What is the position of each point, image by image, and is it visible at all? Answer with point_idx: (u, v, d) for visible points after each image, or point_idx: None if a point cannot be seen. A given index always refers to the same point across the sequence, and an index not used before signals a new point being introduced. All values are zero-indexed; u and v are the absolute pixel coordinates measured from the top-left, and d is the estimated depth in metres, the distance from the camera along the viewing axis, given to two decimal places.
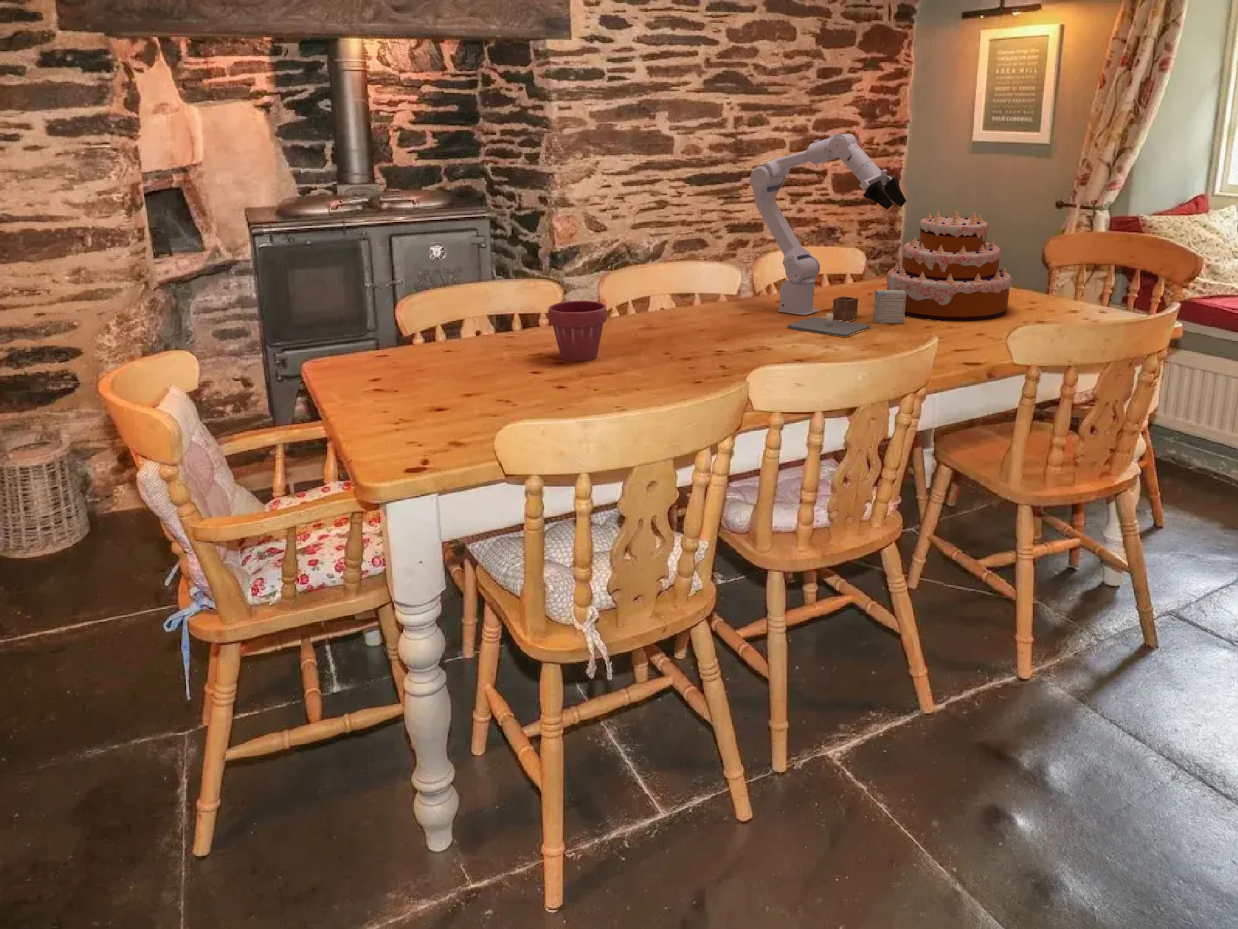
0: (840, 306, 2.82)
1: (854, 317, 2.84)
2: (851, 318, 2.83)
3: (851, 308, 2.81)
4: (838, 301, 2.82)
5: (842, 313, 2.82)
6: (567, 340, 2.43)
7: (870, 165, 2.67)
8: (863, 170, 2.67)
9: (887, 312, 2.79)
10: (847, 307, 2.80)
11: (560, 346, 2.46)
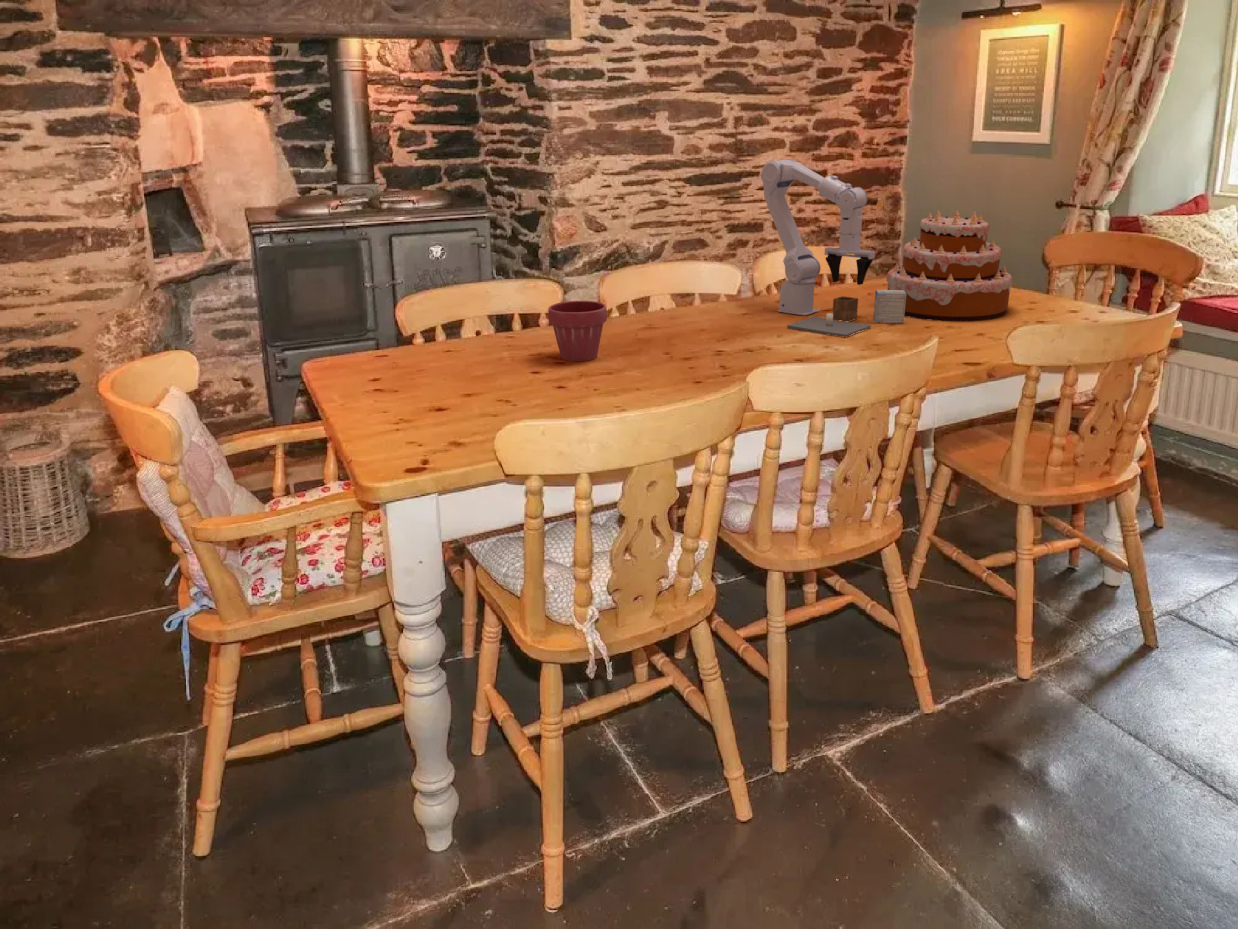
0: (840, 306, 2.82)
1: (854, 317, 2.84)
2: (851, 318, 2.83)
3: (851, 308, 2.81)
4: (838, 301, 2.82)
5: (842, 313, 2.82)
6: (567, 340, 2.43)
7: (841, 237, 2.76)
8: None
9: (887, 312, 2.79)
10: (847, 307, 2.80)
11: (560, 346, 2.46)
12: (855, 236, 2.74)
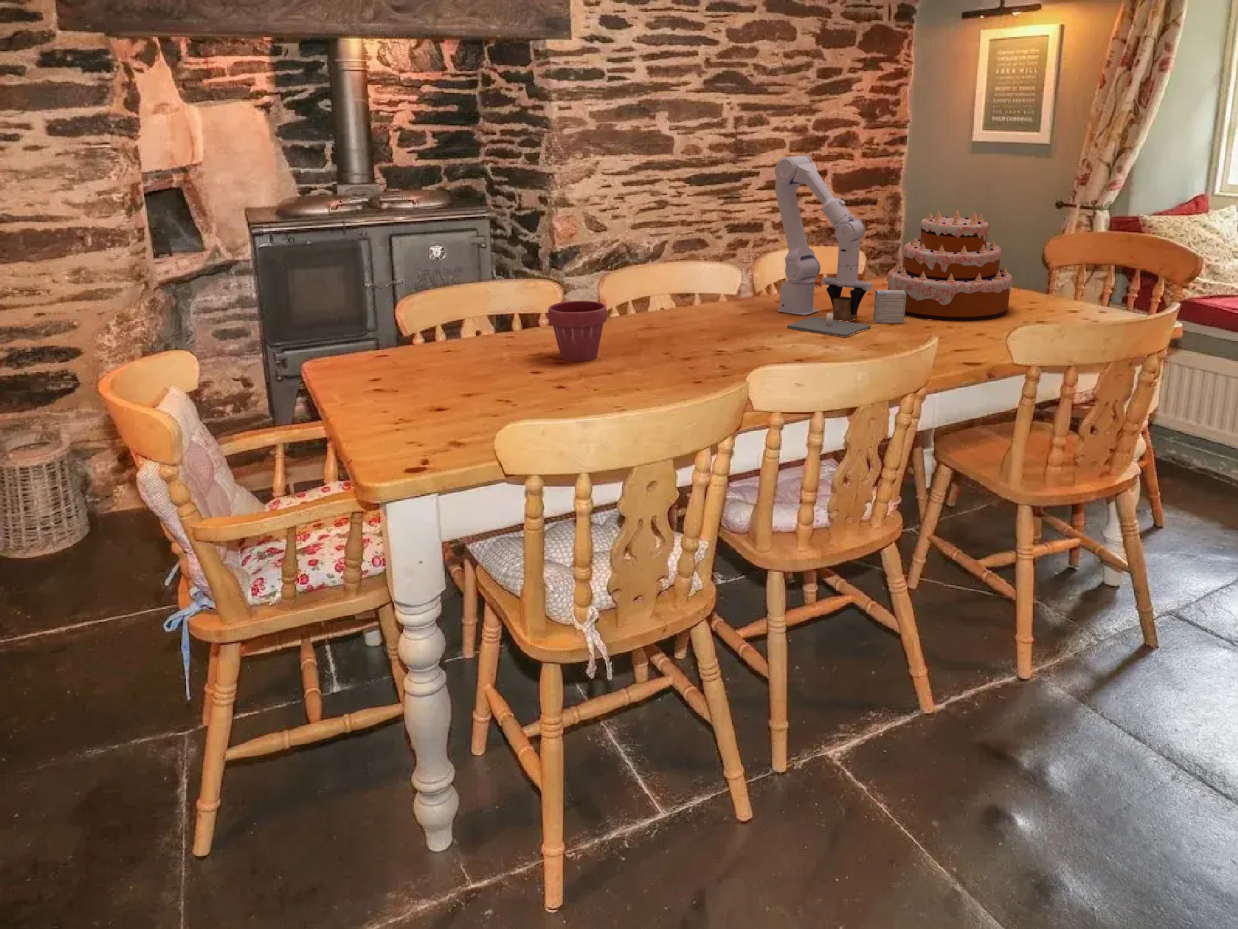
0: (840, 306, 2.82)
1: (854, 317, 2.84)
2: (851, 318, 2.83)
3: None
4: (838, 301, 2.82)
5: (842, 313, 2.82)
6: (567, 340, 2.43)
7: (838, 269, 2.79)
8: None
9: (887, 312, 2.79)
10: (847, 307, 2.80)
11: (560, 346, 2.46)
12: (852, 268, 2.77)
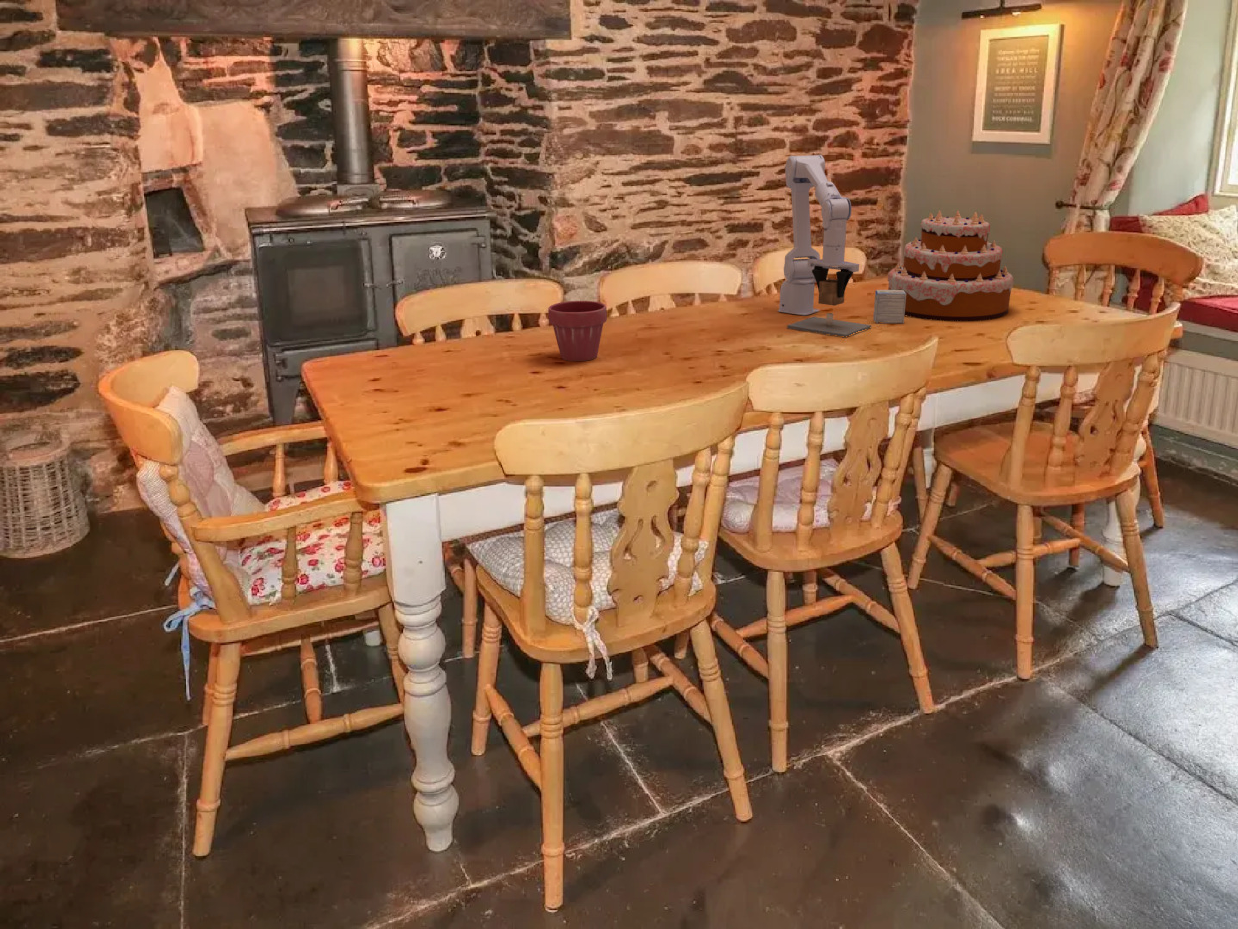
0: (826, 289, 2.70)
1: (841, 300, 2.72)
2: (838, 301, 2.71)
3: None
4: (824, 283, 2.70)
5: (829, 296, 2.70)
6: (567, 340, 2.43)
7: (824, 249, 2.67)
8: None
9: (887, 312, 2.79)
10: (834, 290, 2.69)
11: (560, 346, 2.46)
12: (839, 248, 2.65)
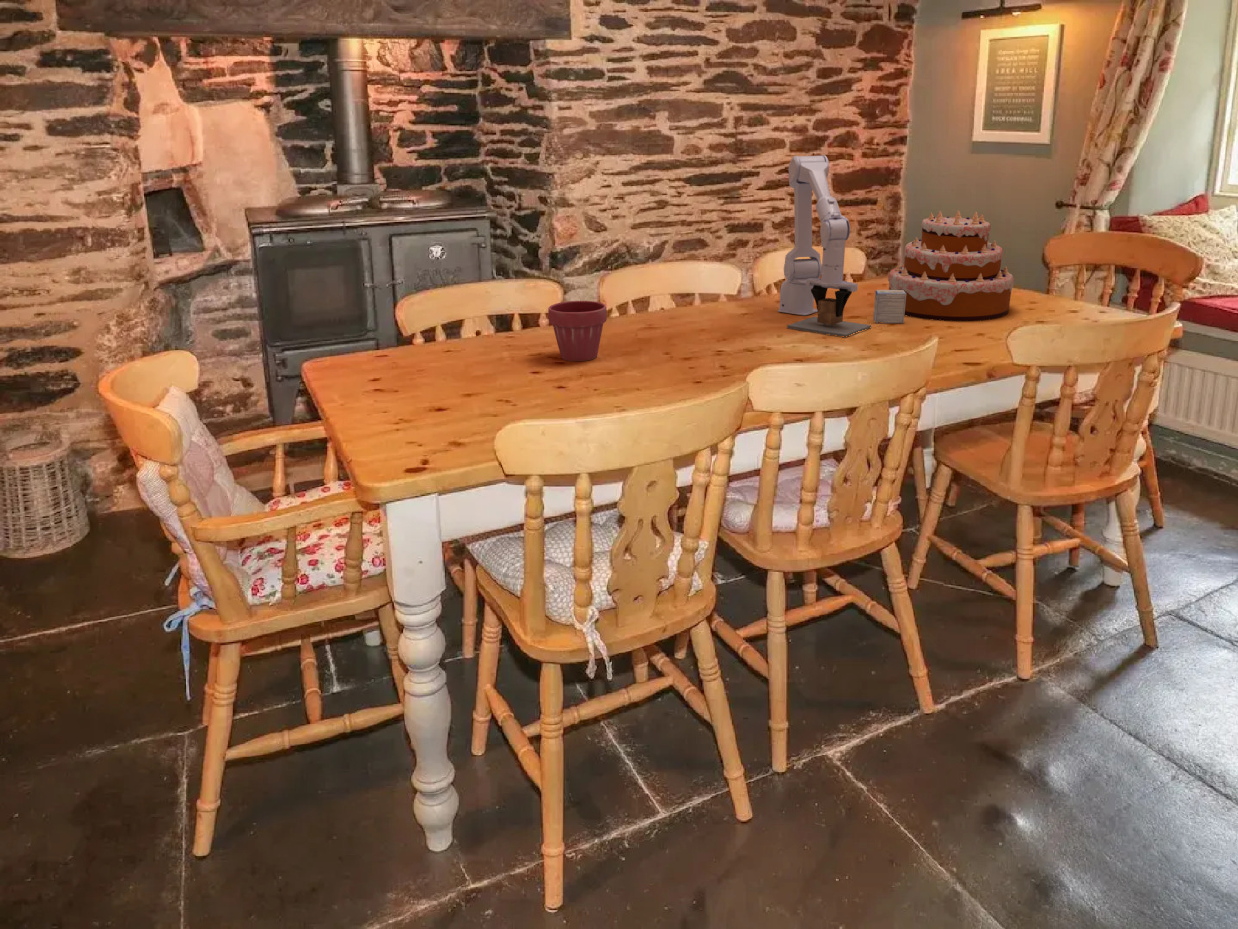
0: (825, 308, 2.72)
1: (840, 319, 2.74)
2: (837, 320, 2.73)
3: None
4: (823, 303, 2.72)
5: (827, 315, 2.72)
6: (567, 340, 2.43)
7: (823, 269, 2.69)
8: None
9: (887, 312, 2.79)
10: (832, 309, 2.70)
11: (560, 346, 2.46)
12: (837, 268, 2.67)
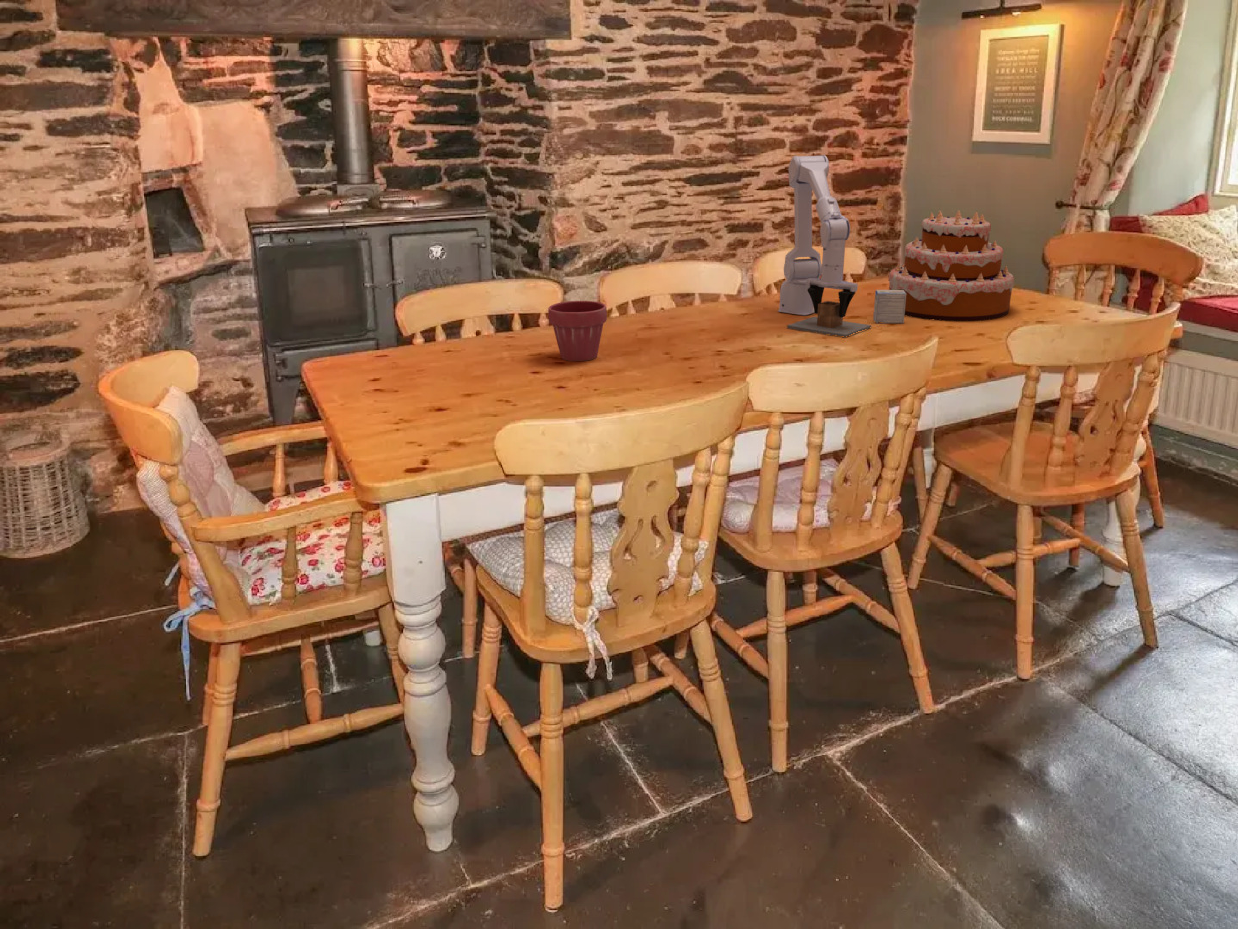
0: (824, 311, 2.72)
1: (839, 322, 2.74)
2: (836, 324, 2.73)
3: (836, 313, 2.72)
4: (823, 306, 2.72)
5: (827, 318, 2.72)
6: (567, 340, 2.43)
7: (823, 269, 2.69)
8: None
9: (887, 312, 2.79)
10: (832, 312, 2.71)
11: (560, 346, 2.46)
12: (837, 268, 2.67)
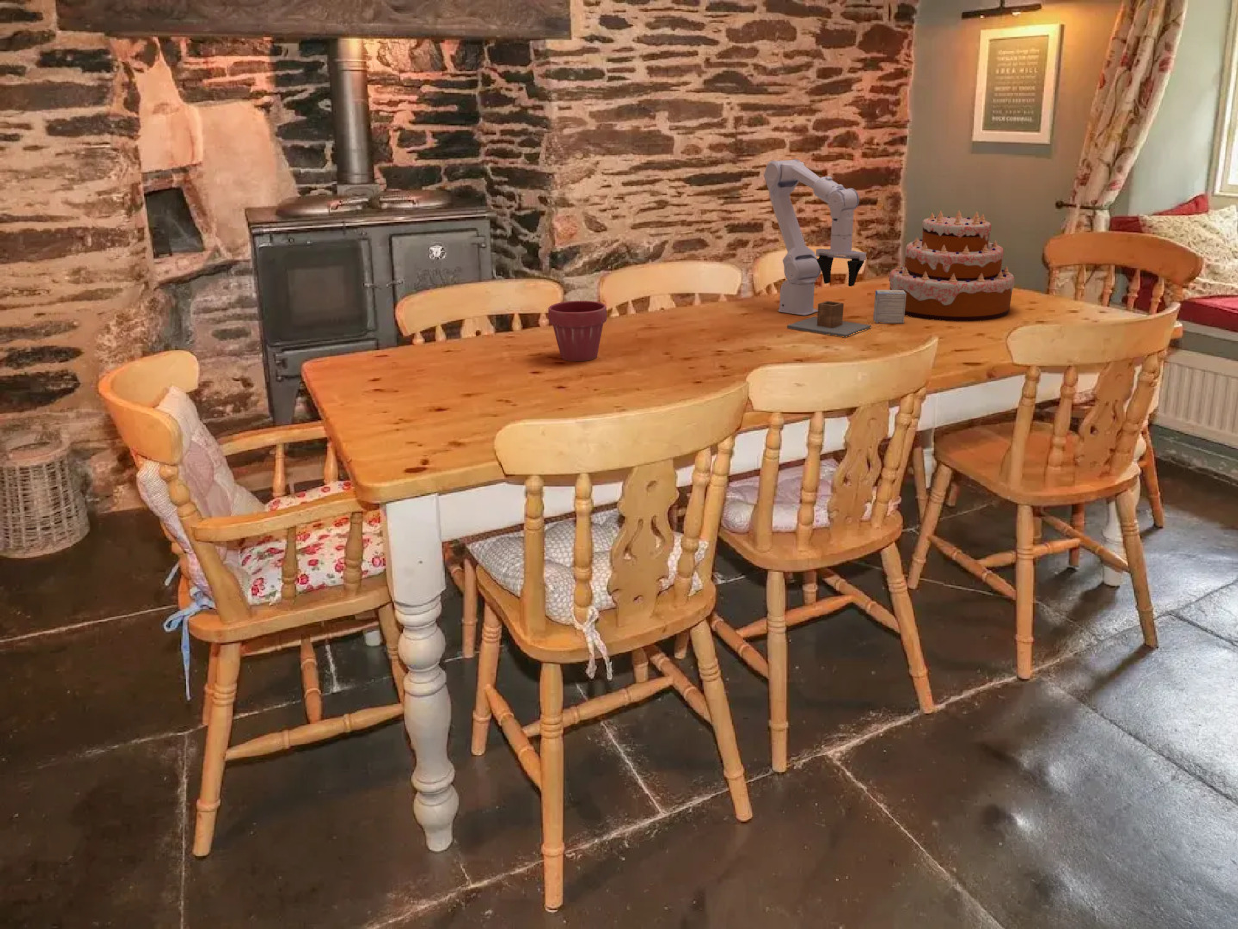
0: (824, 311, 2.72)
1: (839, 322, 2.74)
2: (836, 324, 2.73)
3: (836, 313, 2.72)
4: (823, 306, 2.72)
5: (827, 318, 2.72)
6: (567, 340, 2.43)
7: (832, 239, 2.74)
8: None
9: (887, 312, 2.79)
10: (832, 312, 2.71)
11: (560, 346, 2.46)
12: (846, 237, 2.72)
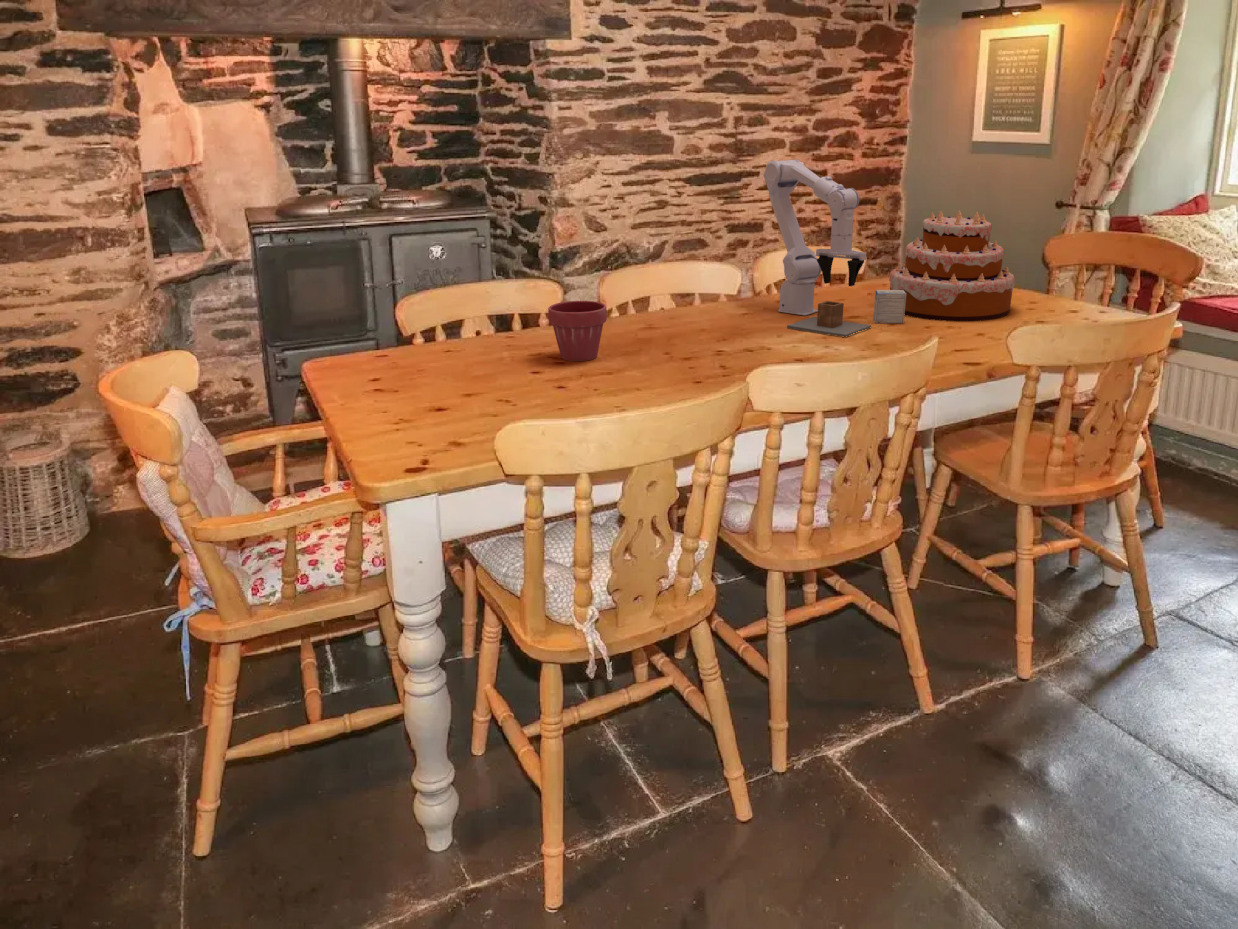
0: (824, 311, 2.72)
1: (839, 322, 2.74)
2: (836, 324, 2.73)
3: (836, 313, 2.72)
4: (823, 306, 2.72)
5: (827, 318, 2.72)
6: (567, 340, 2.43)
7: (832, 239, 2.74)
8: None
9: (887, 312, 2.79)
10: (832, 312, 2.71)
11: (560, 346, 2.46)
12: (846, 237, 2.72)
